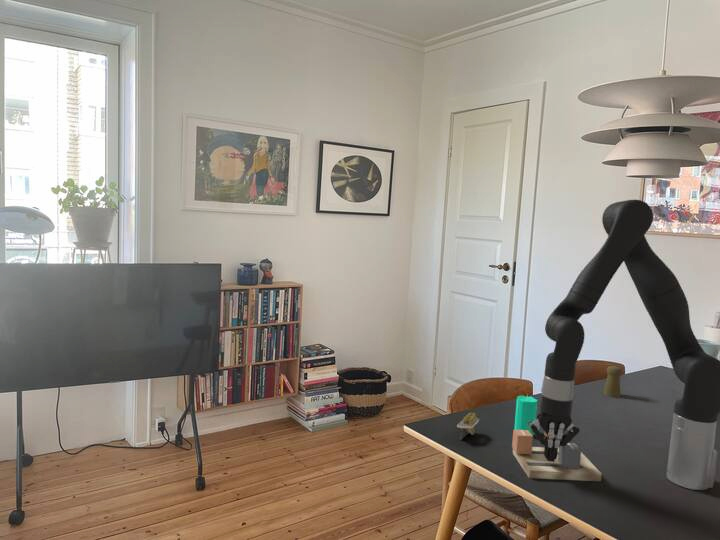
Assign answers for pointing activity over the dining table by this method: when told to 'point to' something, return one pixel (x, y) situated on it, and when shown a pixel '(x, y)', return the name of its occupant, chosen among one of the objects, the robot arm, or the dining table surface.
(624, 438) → the dining table surface
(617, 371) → the cork
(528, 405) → the candle
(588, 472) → the panel
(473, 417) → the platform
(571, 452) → the fader
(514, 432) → the block
